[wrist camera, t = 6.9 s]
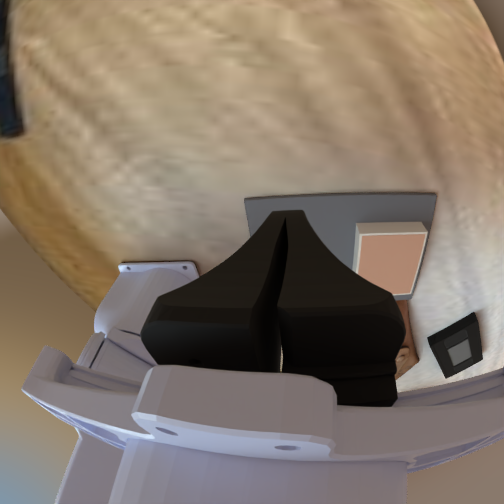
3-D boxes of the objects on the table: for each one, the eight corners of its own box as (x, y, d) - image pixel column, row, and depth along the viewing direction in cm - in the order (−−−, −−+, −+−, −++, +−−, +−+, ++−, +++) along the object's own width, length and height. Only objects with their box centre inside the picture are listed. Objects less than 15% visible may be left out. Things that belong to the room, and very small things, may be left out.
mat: (263, 302, 29) (263, 305, 28) (244, 198, 22) (244, 200, 21) (410, 296, 26) (411, 299, 25) (434, 193, 19) (436, 195, 18)
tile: (352, 298, 24) (411, 294, 23) (359, 234, 20) (428, 232, 19) (350, 285, 25) (406, 282, 24) (356, 223, 21) (421, 221, 20)
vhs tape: (472, 308, 26) (477, 320, 25) (479, 350, 31) (482, 359, 30) (426, 334, 30) (429, 346, 28) (443, 369, 35) (445, 378, 34)
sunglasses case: (422, 362, 33) (407, 401, 30) (384, 355, 38) (367, 392, 35) (405, 289, 25) (385, 346, 22) (350, 286, 31) (326, 334, 27)
